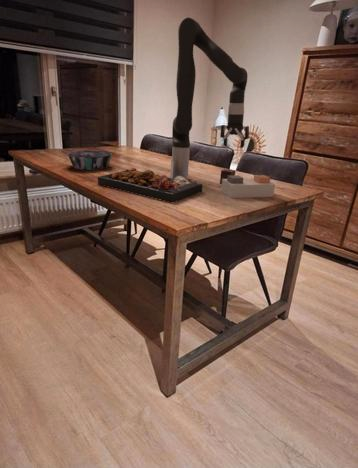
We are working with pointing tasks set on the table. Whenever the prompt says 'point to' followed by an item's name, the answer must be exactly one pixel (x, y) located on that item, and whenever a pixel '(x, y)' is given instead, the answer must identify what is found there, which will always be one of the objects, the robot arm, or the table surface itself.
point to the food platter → (151, 184)
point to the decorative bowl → (90, 159)
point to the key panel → (247, 189)
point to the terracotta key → (261, 179)
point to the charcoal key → (235, 179)
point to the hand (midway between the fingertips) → (233, 147)
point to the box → (226, 174)
